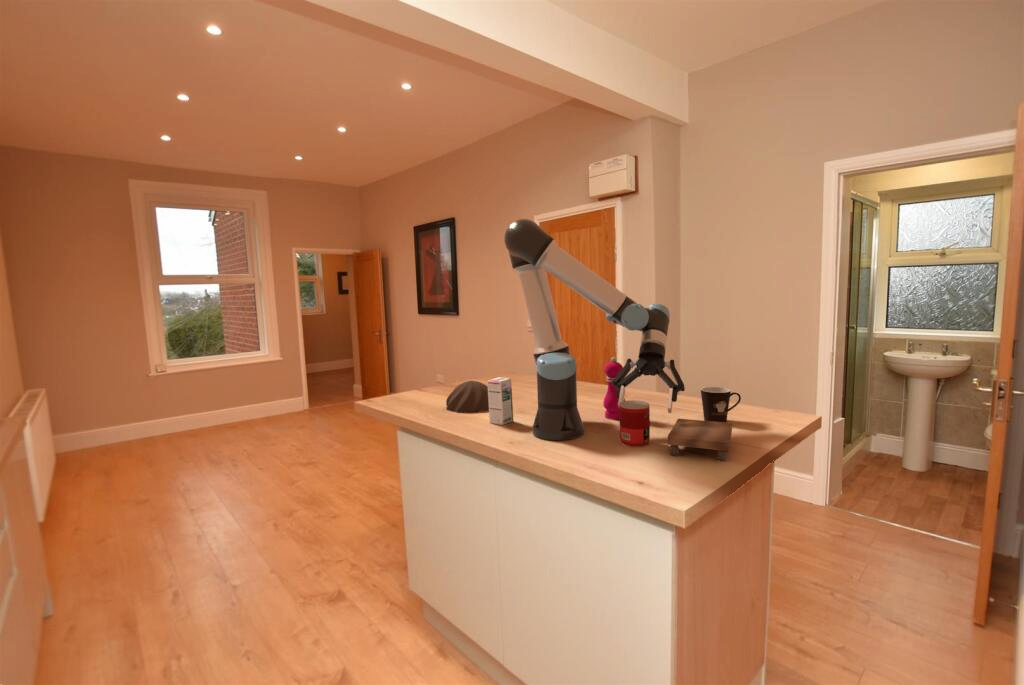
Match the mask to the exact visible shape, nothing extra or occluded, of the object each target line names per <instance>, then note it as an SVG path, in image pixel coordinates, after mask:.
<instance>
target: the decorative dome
mask: <svg viewBox="0 0 1024 685" xmlns="http://www.w3.org/2000/svg"><path fill="white" fill-rule="evenodd" d="M445 403H446V408H445V409H446V411H452V412H454V413H477V412H484V411H485V412H486V411H489V401H488V385H487V384H485V383H482V382H480V381H477V380H467V381H464V382H462V383H460V384H458V385H457V386H456V387H455V388H453V390H452V391H451V393H450V394H449V395H448V396H447V398H446V401H445Z"/></svg>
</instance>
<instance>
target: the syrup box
mask: <svg viewBox="0 0 1024 685" xmlns="http://www.w3.org/2000/svg"><path fill="white" fill-rule="evenodd" d="M486 383H487V384H486V385H487V386H488V401H489V410H488V414H489V415H488V417H489V423H490V424H494V425H500V426H504V425H506V424H508V423H511V422H512V423H513V422H514V410H513V409H514V408H513V407H514V406H513V392H512V391H513V390H512V386H513V385H512V378H510V377H505V376H503V377H499V376H498V377H494V378H492V379H488V380H487V382H486Z"/></svg>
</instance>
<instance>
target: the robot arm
mask: <svg viewBox="0 0 1024 685" xmlns="http://www.w3.org/2000/svg"><path fill="white" fill-rule="evenodd" d="M504 245H505V248H506V250H507V251H508V255H509V258H510V263H511V267H512V270H513V271H514V272H516V273H517V274H518V276H519V279H520V285H521V288H522V292H523V297H524V301H525V306H526V310H527V314H528V317H529V322H530V326H531V329H532V335H533V339H534V343H535V348H534V350H533V352H532V354H533V357H534V358H533V359H534V363H535V371H536V381H537V382H536V383H537V386H536V387H537V389H536V391H537V411H536V414H535V418H534V420H533V421H534V422H533V424H532V434H533V435H534V436H535V437H536V438H538V439H541V440H548V441H566V440H567V441H568V440H573V439H577V438H580V437H582V436H583V435H584V434H585V433H584V431H585V428H584V423H583V420H582V417H581V415H580V412H579V408H578V395H577V394H578V393H577V392H578V390H577V389H578V388H577V384H578V383H577V370H578V365H577V361H576V358H575V357H574V355H572V354H571V351H570V348H569V344H568V342H565V341H564V340H563V339H562V334H561V329H560V326H559V319H558V317H557V316H558V315H557V313H556V309H555V304H554V301H553V295H552V290H551V287H550V282H549V278H548V275H547V274H548V273H549V274H550V275H552V276H554V277H555V278H556V279H558V280H559V281H560V282H562V283H563V284H565V285H566V286H567V287H569V288H570V289H571V290H573V291H574V292H576V293H577V294H579V296H581V297H583V298H584V299H585V300H587V301H588V302H589V303H591V304H592V305H594V306H596V307H597V308H599V310H601V311H602V312H604V313H605V319H606V322H609V323H613V325H619V326H622V327H624V328H625V329H627V330H628V331H632V332H633V331H638V332H642V334H641V339H640V347H639V352H638V356H637V360H632V359H631V358H629V357H628V358H627V359H626V362H625V365H624V366H623V368H622V370H621V371H620V372H619V373H618V375H617V376H616V377H615V378H614V380H613V381H612V384H613V386H614V388H617V393H616V395H617V398H619V401H618V407H619V409H620V406H619V405H620V403H621V402H623V401H624V399H625V395H626V387H627V386H629V385H630V384H631V383H633V382H634V381H635V380H636V379H637V378H640V377H641V376H643V375H644V376H652V377H653V376H654V377H655V376H656V375H658V377H659V378H660V379H662V381H663V382H664V383H665V384H666V385H667V386H668V387H669V392H668V399H667V413H668V414H672V412H673V402H674V403H675V402H677V401H678V393H679V392H685V389H686V388H685V384H684V382H683V380H682V378H681V376H680V374H679V372H678V370H677V367H676V363H675V360H674V359H670V360H669V361H665V357H666V348H667V340H668V338H667V337H668V333H669V332H668V331H669V324H670V322H671V321H670V310H669V308H668V307H667V306H666V305H665V304H662V303H661V304H660V303H657V304H655V303H652V304H649V305H648V306H647V307H644V306H643V305H642V304H640V303H637V302H636V301H635V300H633V299H632V298H630V297H629V296H628V295H626V293H623V291H621V290H619V289H618V288H616V287H615V286H614V285H613V284H611V283H610V282H608V281H607V279H606V280H605V279H604V278H603V277H601V275H599V274H597V273H596V272H595V271H593V270H592V269H591V268H589V267H587V266H586V265H585V264H583V263H582V262H581V261H579V260H578V259H576V258H575V257H574V256H572V255H571V254H570V253H569V252H567V251H566V250H564V249H563V248H561V247H560V246H559V245H557V243H556V239H555V238H554V237H552V236H551V235H550V234H548V233H547V232H546V231H545V230H543V228H542V227H541V226H540V225H538V223H537V222H535V221H533V220H531V219H528V218H519V219H517V220H514V221H513V222H511V223H510V224H509V225H508V227H507V228H506V230H505V233H504ZM547 272H548V273H547ZM635 366H636V367H635ZM634 367H635V368H634ZM665 367H666V368H667V369H668V370H670V372H671V374H672V376H673V378H674V379H675V382H674V380H673V379H672V378H670V376H669V375H668V374H667V373H666V372H665V371H664V369H665ZM633 368H634V369H633ZM632 369H633V370H632ZM631 370H632V371H631Z"/></svg>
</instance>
